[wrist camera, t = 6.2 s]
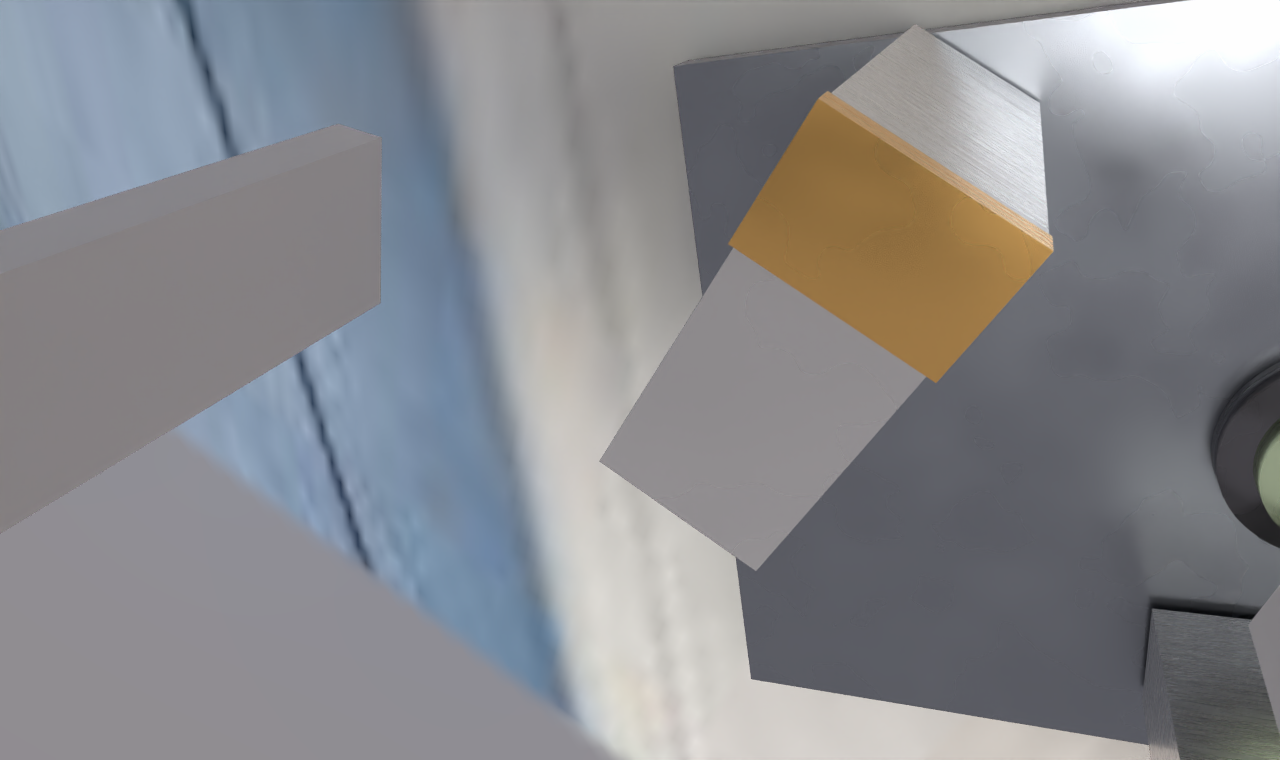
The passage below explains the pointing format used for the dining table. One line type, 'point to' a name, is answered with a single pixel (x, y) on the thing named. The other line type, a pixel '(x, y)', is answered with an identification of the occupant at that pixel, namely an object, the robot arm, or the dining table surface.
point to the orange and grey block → (843, 292)
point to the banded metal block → (1206, 691)
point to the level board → (1046, 379)
